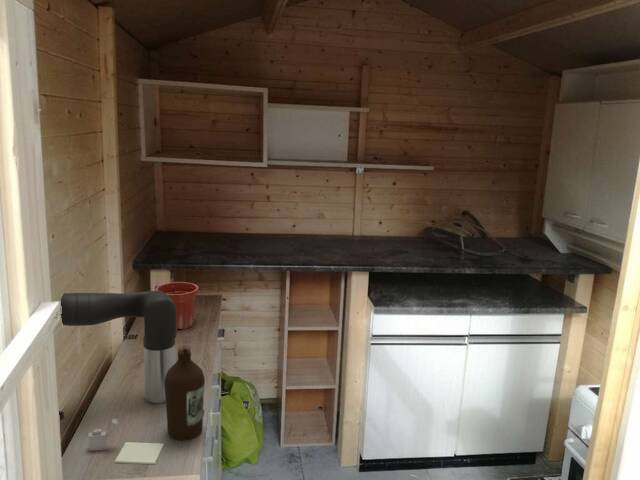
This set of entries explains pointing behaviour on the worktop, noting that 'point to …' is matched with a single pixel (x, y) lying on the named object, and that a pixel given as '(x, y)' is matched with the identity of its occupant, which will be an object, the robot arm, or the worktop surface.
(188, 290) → the flower pot
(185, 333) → the worktop surface
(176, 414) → the olive oil
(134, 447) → the mat
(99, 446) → the lighter
